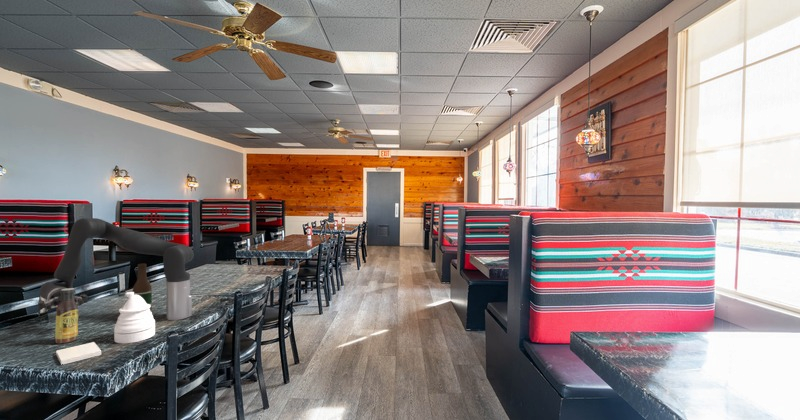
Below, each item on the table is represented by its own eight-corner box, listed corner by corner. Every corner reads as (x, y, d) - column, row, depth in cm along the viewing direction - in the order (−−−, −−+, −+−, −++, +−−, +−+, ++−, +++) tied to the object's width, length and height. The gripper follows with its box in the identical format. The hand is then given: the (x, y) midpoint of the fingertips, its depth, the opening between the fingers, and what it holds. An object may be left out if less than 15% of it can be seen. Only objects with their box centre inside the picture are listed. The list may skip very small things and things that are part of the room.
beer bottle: (155, 313, 164) (155, 263, 164) (136, 318, 157) (135, 266, 157) (148, 310, 168) (147, 262, 168) (129, 315, 162) (128, 264, 161)
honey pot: (130, 345, 128) (129, 297, 128) (105, 340, 132) (105, 294, 131) (163, 332, 140) (162, 289, 140) (140, 329, 144) (139, 286, 144)
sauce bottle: (63, 345, 127) (62, 291, 127) (50, 343, 129) (49, 290, 128) (83, 338, 134) (82, 287, 133) (70, 337, 135) (70, 286, 135)
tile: (94, 341, 127) (101, 350, 120) (94, 346, 127) (101, 355, 120) (56, 350, 120) (61, 360, 112) (56, 355, 120) (61, 366, 112)
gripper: (36, 291, 140) (39, 299, 129) (83, 285, 151) (89, 292, 140) (36, 310, 140) (39, 319, 129) (83, 302, 151) (89, 310, 140)
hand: (65, 305), depth 135 cm, fingers open, 8 cm apart
